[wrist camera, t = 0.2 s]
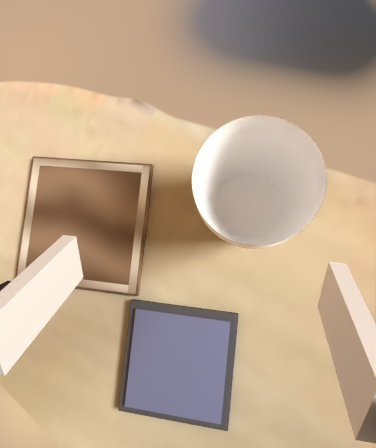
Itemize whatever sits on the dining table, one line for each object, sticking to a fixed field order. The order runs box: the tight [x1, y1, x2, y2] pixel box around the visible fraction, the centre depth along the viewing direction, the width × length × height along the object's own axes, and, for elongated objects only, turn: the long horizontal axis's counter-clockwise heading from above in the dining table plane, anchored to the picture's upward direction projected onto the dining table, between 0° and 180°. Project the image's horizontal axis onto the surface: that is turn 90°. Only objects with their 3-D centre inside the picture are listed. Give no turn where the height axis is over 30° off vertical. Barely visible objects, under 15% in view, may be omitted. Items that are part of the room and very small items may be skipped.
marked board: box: [16, 156, 153, 296], centre depth 34 cm, size 14×14×1 cm
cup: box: [192, 115, 327, 249], centre depth 26 cm, size 9×9×12 cm
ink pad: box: [119, 299, 238, 431], centre depth 31 cm, size 11×11×1 cm
